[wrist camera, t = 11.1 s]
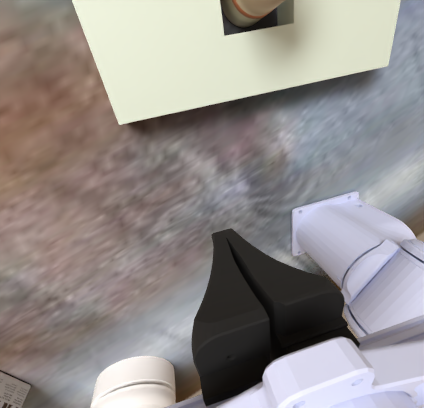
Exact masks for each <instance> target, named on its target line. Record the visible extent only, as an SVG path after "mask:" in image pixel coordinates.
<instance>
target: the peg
mask: <svg viewBox="0 0 424 408" xmlns="http://www.w3.org/2000/svg"><path fill="white" fill-rule="evenodd" d="M283 1H285V0H220V2H221V6H222V9H223V12H224V14H225V16H226V17H227V19H228V20H229V21H230V22H231V23H232V24H234V25H236V26H238V27H242V28H246V27H250V26H252V25H254V24H255V23H257V22H258V21H259V20H260V19H262V18H263V17H264V16H266V15H267V14H269V13H270V12H271V11H272V10H273V9H274V8H276V7H277V6H278V5H280V4H281V3H282V2H283Z"/></svg>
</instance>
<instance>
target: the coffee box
mask: <svg viewBox="0 0 424 408" xmlns="http://www.w3.org/2000/svg"><path fill="white" fill-rule="evenodd" d="M30 387H31V385H29V384H27V383H24V382H22V381H20V380H18V379H16V378H13V377H11V376H9V375H7V374H4V373H2V372H0V408H21V407H22V405H23V403H24V400H25V398H26V396H27V394H28V392H29V390H30Z"/></svg>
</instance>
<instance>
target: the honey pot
mask: <svg viewBox="0 0 424 408" xmlns="http://www.w3.org/2000/svg"><path fill="white" fill-rule="evenodd" d="M175 393H176V392H175V373H174V367H173V365H172V364H171V363H170V362H169V361H167V360H165V359H163V358H159V357H155V356H140V357H133V358H129V359H125V360H122V361H119V362H117V363H115V364H113V365H111V366H109V367H108V368H106V369H105V370H104V371H103V372H102V373H101V374H100V375H99V377H98V379H97V381H96V385H95V389H94V393H93V398H92V402H91V408H165V407H167V406H170V405H173V404H176V402H175V399H176V396H175Z"/></svg>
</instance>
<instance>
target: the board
mask: <svg viewBox="0 0 424 408" xmlns="http://www.w3.org/2000/svg"><path fill="white" fill-rule="evenodd" d="M400 1H401V0H285V1H283V2H282V3H281V4H280V5H278V6H277V24H278V26H276V27H270V28H265V29H259V30H254V31H249V32H243V33H238V34H232V35H227V36H224V29H223V21H222V13H221V4H220V0H72V2H73V4H74V7H75V9H76V12H77V15H78V17H79V20H80V23H81V25H82V28H83V31H84V33H85V36H86V38H87V41H88V44H89V46H90V49H91V52H92V54H93V57H94V60H95V62H96V65H97V68H98V70H99V73H100V75H101V78H102V81H103V83H104V86H105V89H106V91H107V94H108V97H109V99H110V102H111V105H112V107H113V110H114V112H115V115H116V118H117V120H118V123H119V125H121V124H125V123H130V122H135V121H139V120H144V119H148V118H153V117H157V116H162V115H167V114H171V113H176V112H180V111H185V110H189V109H194V108H199V107H203V106H208V105H212V104H217V103H221V102H226V101H231V100H235V99H240V98H244V97H249V96H253V95H258V94H263V93H267V92H272V91H276V90H281V89H285V88H290V87H295V86H299V85H304V84H308V83H313V82H317V81H322V80H327V79H331V78H336V77H340V76H345V75H349V74H354V73H359V72H363V71H368V70H372V69H377V68H381V67H386V66H388V64H389V58H390V53H391V48H392V43H393V38H394V32H395V27H396V22H397V17H398V12H399V7H400Z"/></svg>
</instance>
